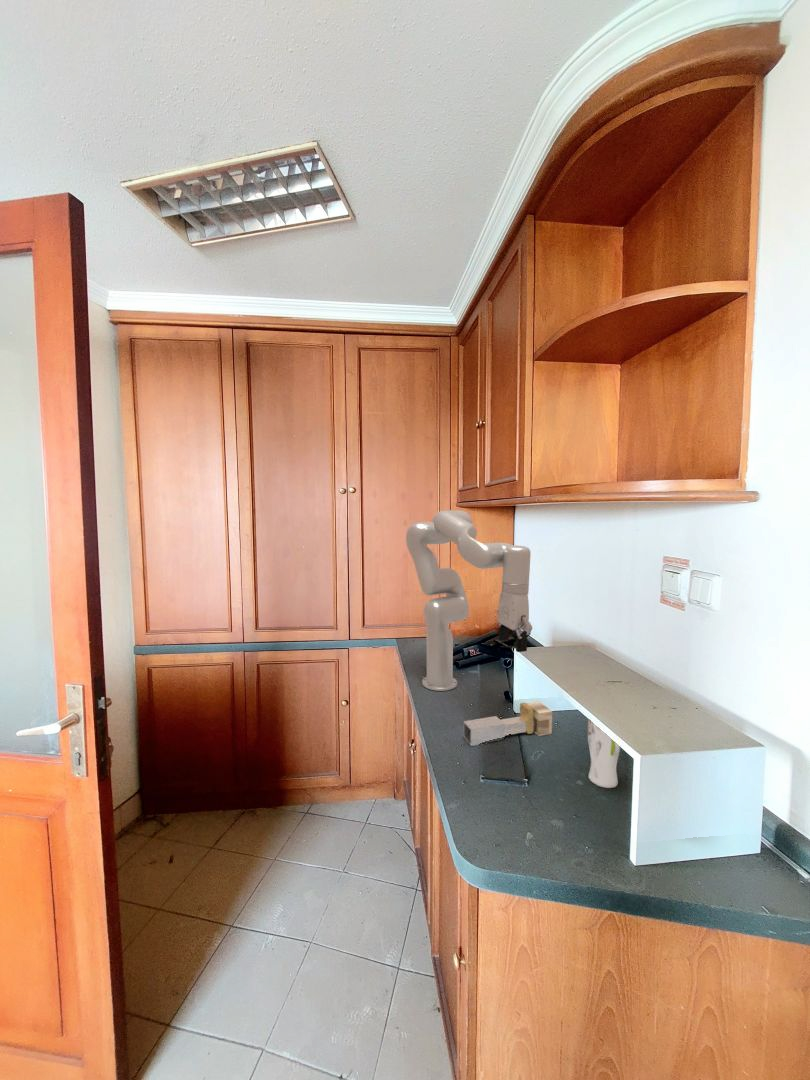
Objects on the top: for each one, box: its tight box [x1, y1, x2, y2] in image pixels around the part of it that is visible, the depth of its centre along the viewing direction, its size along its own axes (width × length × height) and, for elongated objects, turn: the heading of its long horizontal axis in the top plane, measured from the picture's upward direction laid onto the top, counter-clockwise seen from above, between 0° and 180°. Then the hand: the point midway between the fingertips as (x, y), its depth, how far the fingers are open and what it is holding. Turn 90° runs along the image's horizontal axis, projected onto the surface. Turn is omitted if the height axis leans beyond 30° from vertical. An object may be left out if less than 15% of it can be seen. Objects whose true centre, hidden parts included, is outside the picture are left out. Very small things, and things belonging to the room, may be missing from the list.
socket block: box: [525, 700, 553, 737], centre depth 118 cm, size 6×4×6 cm
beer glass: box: [587, 718, 621, 789], centre depth 95 cm, size 7×7×15 cm
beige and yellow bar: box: [500, 702, 537, 736], centre depth 116 cm, size 4×16×7 cm, turn 107°
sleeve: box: [463, 715, 506, 747], centre depth 113 cm, size 5×10×5 cm, turn 107°
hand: (512, 645), depth 121 cm, fingers open, 9 cm apart
